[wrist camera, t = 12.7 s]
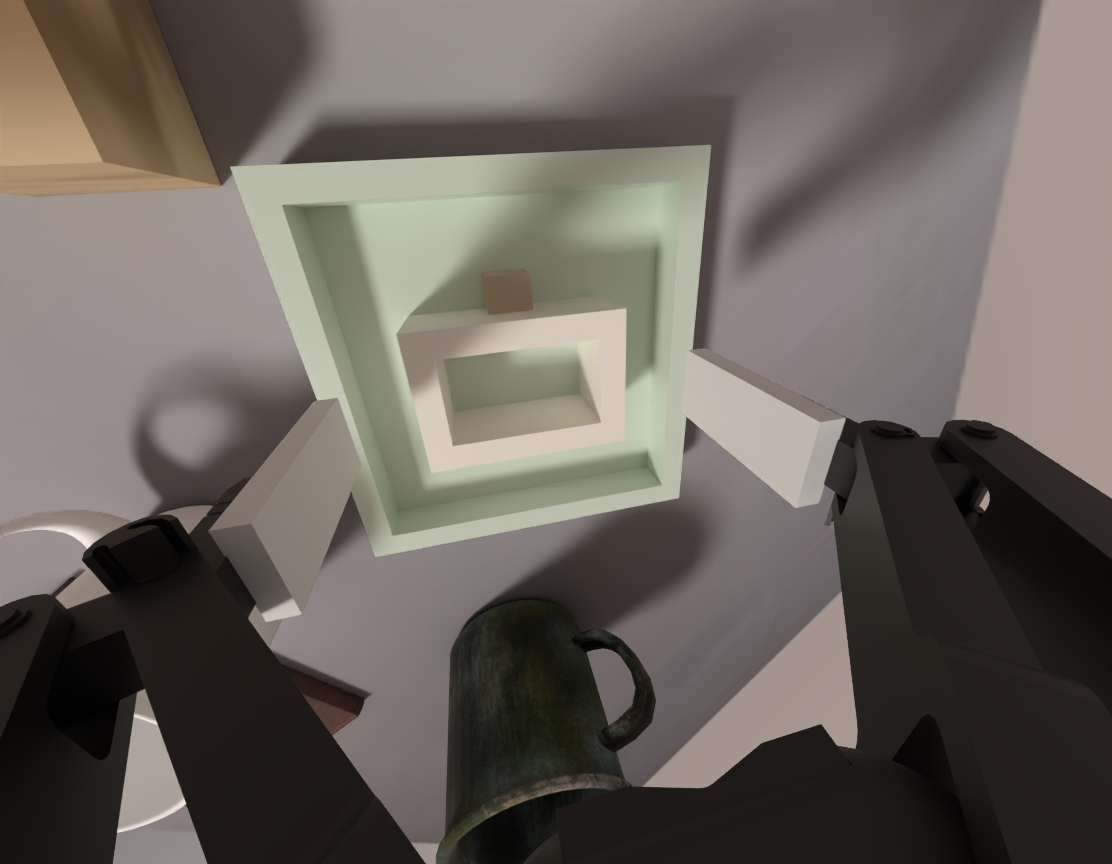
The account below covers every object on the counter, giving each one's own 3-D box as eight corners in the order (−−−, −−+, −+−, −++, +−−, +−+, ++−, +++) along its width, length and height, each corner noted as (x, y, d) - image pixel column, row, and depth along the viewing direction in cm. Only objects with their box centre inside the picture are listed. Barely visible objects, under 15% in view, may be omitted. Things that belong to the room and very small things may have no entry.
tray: (267, 177, 16) (230, 166, 14) (676, 157, 19) (711, 144, 16) (384, 522, 24) (375, 557, 22) (657, 472, 27) (678, 498, 25)
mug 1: (159, 423, 19) (-126, 600, 10) (336, 566, 25) (262, 764, 16) (17, 510, 20) (-387, 759, 10) (224, 631, 25) (86, 862, 16)
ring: (436, 434, 22) (431, 473, 18) (400, 280, 18) (385, 290, 15) (600, 409, 23) (624, 440, 20) (597, 261, 20) (627, 267, 16)
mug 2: (413, 649, 30) (386, 875, 19) (570, 542, 28) (634, 722, 18) (501, 701, 35) (519, 902, 24) (638, 613, 33) (719, 786, 23)
